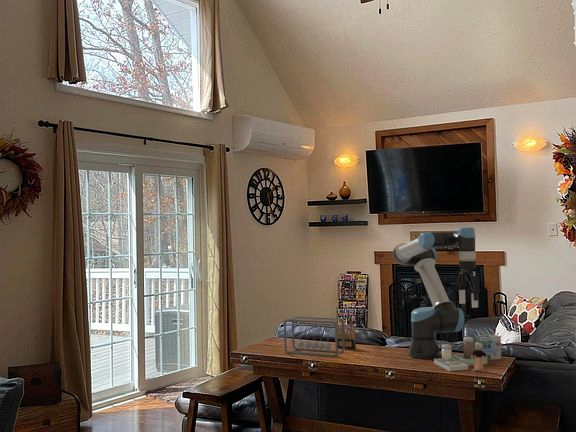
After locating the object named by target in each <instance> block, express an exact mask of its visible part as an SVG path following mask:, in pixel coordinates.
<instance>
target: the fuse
mask: <svg viewBox="0 0 576 432" xmlns="http://www.w3.org/2000/svg"><path fill="white" fill-rule="evenodd" d="M452 350H453V349H452V344H449V343H447V344H446V343H444V344H441V359H442V361H443V362H450V361H452V355H453V354H452Z"/></svg>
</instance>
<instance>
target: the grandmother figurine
mask: <svg viewBox="0 0 576 432" xmlns="http://www.w3.org/2000/svg"><path fill="white" fill-rule="evenodd" d="M482 347H483V346H482V344H481V343H480V342H476V343H475V342H474V352H473V353H472V355H471V358H473V357H474V355H475V366H474V368H473V369H472V371H473V372H478V371H483V372H484V365H483V357H482V356H484V357H485V359H486V360H487V361H489V360H488V358H487V355H486V354H485V353H484V352H483V351H481V348H482ZM475 348H476V350H475Z"/></svg>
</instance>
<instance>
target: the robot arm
mask: <svg viewBox="0 0 576 432" xmlns="http://www.w3.org/2000/svg"><path fill="white" fill-rule="evenodd" d="M475 233H476V232H475V228H474V227H470V226H469V227H467V226H465V227H459V228H458V231H457V230H450V231H431V232H430V231H426V232H421V233H420V234H419V236H418V237H417V238H414V240H413V239H412V240H410V241H407V243H400V244H397V245H396V246H394V249H393V250H392V258H393V259H394V261H395V262H396V263H397V264H399V265H401V266H413V268H414V270H415V271H416V272H418V273H419V276H420V278H421V280H422V283H423V284H424V288H425V290H426V293H427V295H428V297H429V299H430V302H431V305H432V306H425V307H424V306H423V307H419V308H414V309H413V310H412V312H411V313H410V314H411V315H410V316H411V317H410V321H411V322H410V323H411V325H410V327H411V341H410V346H409V350H408V356H409V357H411V358H414V359H420V360H421V359H423V360H424V359H427V360H428V359H435V358H436V359H438V358H440V357H441V351H440V348H439V347H440V346H439V344H438V342H437V334H447V333H456V332H460V331H461V330H462V329H463V327H464V324H465V314H464V311H463V309H462V308H460V307H456V305H455V303H454V302H453V301H451V300H450V299H449V297H448V295H447V292H446V290H445V287H444V285H443V284H442V281H441V279H440V276H439V273H438V271H437V270H436V267H435V265H436V262H437V257H438V256H437V251H436V248H438V249H439V248H458V259H459V262H458V266H459V270H458V276H457V277H458V279H457V284H456V288H457V289H458V297H459V299H458V300H459V302H458V303H459V304H461V305H462V304H463V305H464V304H466V284H467V282H468V284H469V287H470V290H471V294H470V295H471V308H472V309H474V308H479V293H480V292H481V289H480V288H481V287H480V284H479V279H478V275H477V270H476V271H474V269H476V268H477V261H476V259H477V256H476V254H477V253H476V234H475Z"/></svg>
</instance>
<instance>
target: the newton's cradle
mask: <svg viewBox="0 0 576 432" xmlns="http://www.w3.org/2000/svg"><path fill="white" fill-rule="evenodd" d="M287 322H291V334H292V335H291V337H292V338H291V339H292V341H291V343H292V348H293V349H292V350H288V349H287V346H288V345H287ZM337 322H341V327H342V339H343V348H342V350H339V348H338V339H337V326H338V325H337ZM295 323H298V325H297V326H299V325H300V324H299V323H304V325H305V326H304V327H305V328H308V329H307V331H308V332H309V330H310V324H308V327H307V326H306V324H307V323H311V324H314V325H315V326H316V323H317V324H325V326H327V324H331V325H332V324H333V325H334V341H335V350H334V349H333V350H331V349H332V347H333V346H332V343H330V342H329V339H327V340H326V342H325V343H324V342H323V341H322V338H323V336H322V335H323V334H322V333H321V332H320V329H318V331H319V333H320V337H319V339H320V340H319V342H317V341H315V335H312V338H313V341H309V340H306V341H305V342H304V341H303V340H301V339H299V340H298V341H297V343H296V345H295V342H296V341H295ZM311 327H312V331H314V329H313V328H314V327H313V326H311ZM344 327H345V321H344V320H343V319H342V318H337V317H335V318H334V317H333V318H331V317H313V316H293V317H292V318H286V319H285V320H284V321H283V347H284V348H283V349H284V352H285V353H286V354H290V353H291V354H290V355H292V354H293V355H294V354H295V355H303V354H304V355H305V356H307V355H308V356H319V357H328V358H329V357H330V358H331V357H333V358H335V357H337V356H338V354H343V353H344V352H345V350H346V349H345V334H346V331H345V332H344ZM302 328H303V327H301V329H300V330H301V333H302V330H303V329H302ZM329 331H330V330H328V331H327V330H325V333H326V335H327V338H329V336H330V335H329V333H330V332H329ZM308 332H305V334H306V337H308V334H307V333H308ZM327 332H328V333H327ZM301 333H300V332H298V334H299V337H301ZM296 346H297V347H296ZM317 348H318V349H317ZM304 350H307V352H304ZM318 351H319V353H318ZM320 352H321V353H320ZM329 353H330V354H329ZM331 353H333V354H331Z"/></svg>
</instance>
